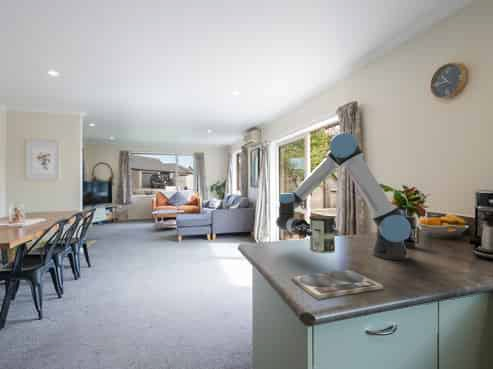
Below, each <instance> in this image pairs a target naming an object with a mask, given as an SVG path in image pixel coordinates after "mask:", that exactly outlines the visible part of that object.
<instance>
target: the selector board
mask: <svg viewBox="0 0 493 369" xmlns="http://www.w3.org/2000/svg"><path fill="white" fill-rule="evenodd" d="M291 281H292V282H293V283H295V284H296V285H297V286H298V287H300V288H301V289H303V290H304V291H305V292H307V293H308V294H309V295H311V296H312V297H314V298H315V299H316V300H320V299H321V300H322V299H326V298H333V297H339V296H344V295H351V294H357V293H363V292H369V291H377V290H382V289H384V285H383V284H382V283H379V282H377V281H375V280H373V279H370V278H368V277H366V276H364V275H362V274H359V273H358V272H356V271H353V270H352V269H346V270H334V271H332V272H330V271H329V272H324V273H322V272H321V273H314V274H304V275H299V276H291Z"/></svg>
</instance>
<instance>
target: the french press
mask: <svg viewBox="0 0 493 369" xmlns="http://www.w3.org/2000/svg"><path fill="white" fill-rule="evenodd" d="M402 208H405V215H404V217H405V218H406V219H407V220H408V221H409V223H410V222H416V218H417V217H415V216H412V215H408V208H411V205H410V206H409V205H402ZM410 226H411V232H410V235H409V236H408V237H407V238H406V239H405V240H403V241H404V245H405V248H406V249H416V248H417V245H416V244H419V243H420V227H419V226H417V225H414V224H410ZM412 230H413V231H412ZM412 233H413V234H412Z"/></svg>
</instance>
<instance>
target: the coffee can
mask: <svg viewBox="0 0 493 369" xmlns="http://www.w3.org/2000/svg"><path fill="white" fill-rule="evenodd" d="M308 218H309V224H310V230H314V231H318V232H319V239H316V238H313V237H310V236H309V251H310V252H312V253H317V254H333V253H335V252H336V245H335V244H336V240H335V239H336V238H335V237H336V236H335V229H336V228H335V227H336V226H335V221H336V217H335V216H332V215H322V214H321V215H310V216H308Z"/></svg>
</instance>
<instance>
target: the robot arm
mask: <svg viewBox="0 0 493 369" xmlns="http://www.w3.org/2000/svg"><path fill="white" fill-rule="evenodd" d="M363 158H364V152H363V149H361V147H360V146H359V144H358V142H357V139H356V137H355V136H354V135H352V134H351V133H349V132H339V133H336V134H335V135H334V136H333V137H332V138H331V140H330V142H329V151H328V152H327V153H326V155H325V158H324V159H323V160H322V161H321V162H320V163H319V165H317V167H316V168H314V169H313V171H312V172H311V173H309V175H308V176H306V178H305V179H304V180H303V181H302V182H300V184H299V185H298V186H297V187H296V188H295V189H294V190H293V191H292V192H281V193H280V194H279V200H278V201H279V216H277V218H276V220H275V223H276V227H277V228H279V229H280V230H282V231H286V232H289V233H293V235H298V236H300V237H301V236H303V237H304V238H308V237H309V238H310V237H313V238H316V239H319V232H318V231H314V230H310V223H308V222H307V220H306V219H304V218H299V217H296V216H295V210H296V209H297V208H299V207H300V206H301V204H302V203H303V202H304V201H305V200H306V199H307V198H308V197H309V196H310V195H311V194H312V193H313V192H314V191H315V190H316V189H317V188H318V187H319V186H320V185H321V184H322V183H323V182H324V181H325V180H326V179H327V178H328V176H330V175H331V174H332V173H333V172H334V171H335V170H336V169H337V168H344V169H345V170H346V172H347V173H348V175H349V176H350V178H351V180H352V182H353V183H354V186H355V187H356V188H357V189H358V191H359V193H360V195H361V196H362V198H363V199H364V201H365V202H366V203H367V206H368V207H369V209H370V210H371V212H372V215H371V219H372V221H373V222H374V224H375V225H376V238H375V242H374V245H373V247H372V250H371V251H372V253H371V254H372V255H373V256H375V257H377V258H380V259H385V260H390V261H392V260H393V261H405V260H407V259H409V258H408V256H409V255H408V251H407V248H405V245H404V241H403V240H405V239H408V236H409V235H410V232H411V226H410V225H411V224H410V222H409V221H408V220H407V219H406V218H405V217H404V216H405V212H404V210H403V209H400V208H399V207H398V205H395V204H393V203H391V201H390V199H389V198H388V196H387V195H386V193H385V192H384V190H383V188H382V187H381V185H380V183H379V182H378V181H377V178H376V177H375V176H374V174H373V173H372V171H371V170H370V168H369V166H368V165H367V163H366V161H365V160H364V159H363ZM335 237H341V229H339V228H335Z"/></svg>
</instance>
